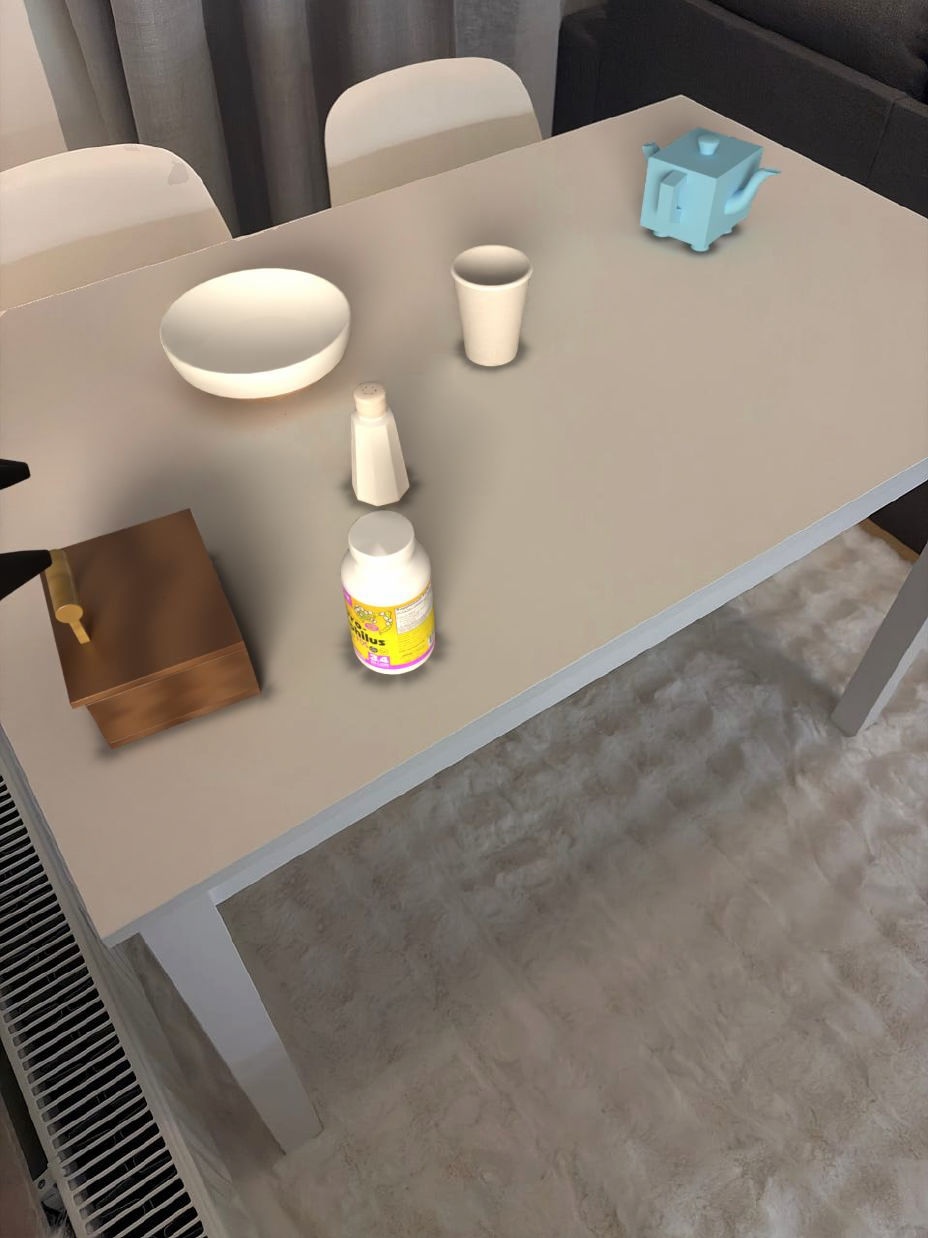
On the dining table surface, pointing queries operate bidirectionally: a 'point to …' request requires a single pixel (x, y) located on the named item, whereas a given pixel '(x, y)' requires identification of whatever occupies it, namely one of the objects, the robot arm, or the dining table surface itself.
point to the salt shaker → (376, 448)
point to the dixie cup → (491, 300)
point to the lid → (136, 607)
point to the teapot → (700, 186)
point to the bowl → (257, 333)
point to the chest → (175, 698)
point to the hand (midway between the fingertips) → (39, 511)
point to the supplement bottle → (388, 593)
